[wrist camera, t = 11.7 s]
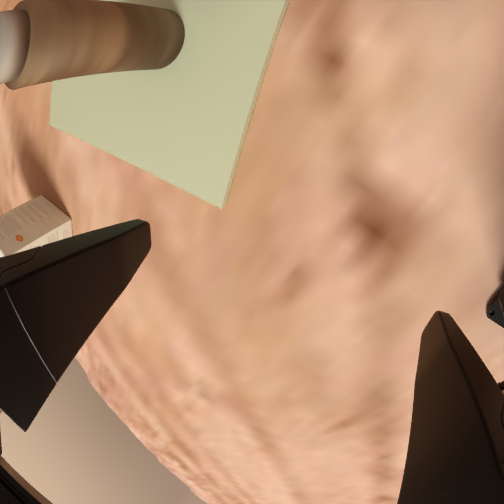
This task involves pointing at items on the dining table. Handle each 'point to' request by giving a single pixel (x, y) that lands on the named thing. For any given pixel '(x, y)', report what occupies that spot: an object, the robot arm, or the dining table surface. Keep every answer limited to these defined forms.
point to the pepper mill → (84, 39)
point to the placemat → (180, 97)
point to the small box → (32, 226)
